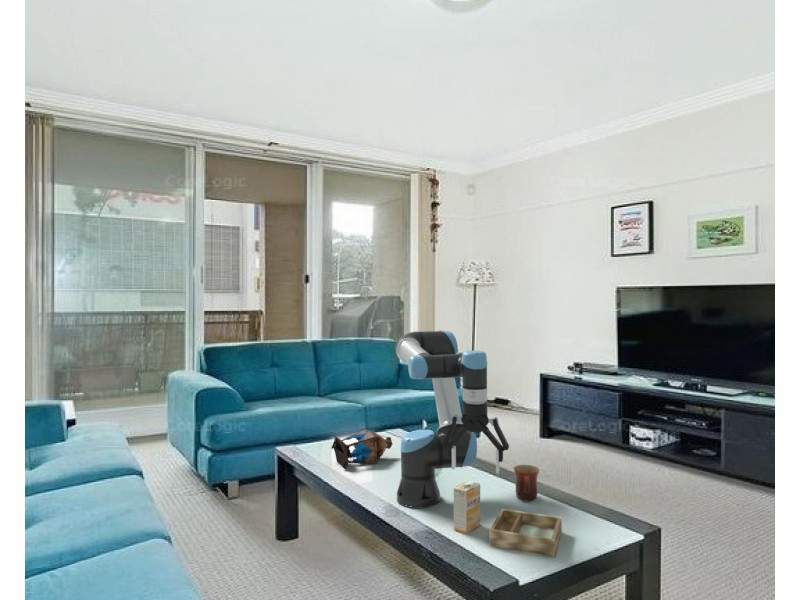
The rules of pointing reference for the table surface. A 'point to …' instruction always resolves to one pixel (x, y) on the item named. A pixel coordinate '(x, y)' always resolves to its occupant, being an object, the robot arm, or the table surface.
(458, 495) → the supplement box
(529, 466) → the mug
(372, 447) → the lantern
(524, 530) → the frame
